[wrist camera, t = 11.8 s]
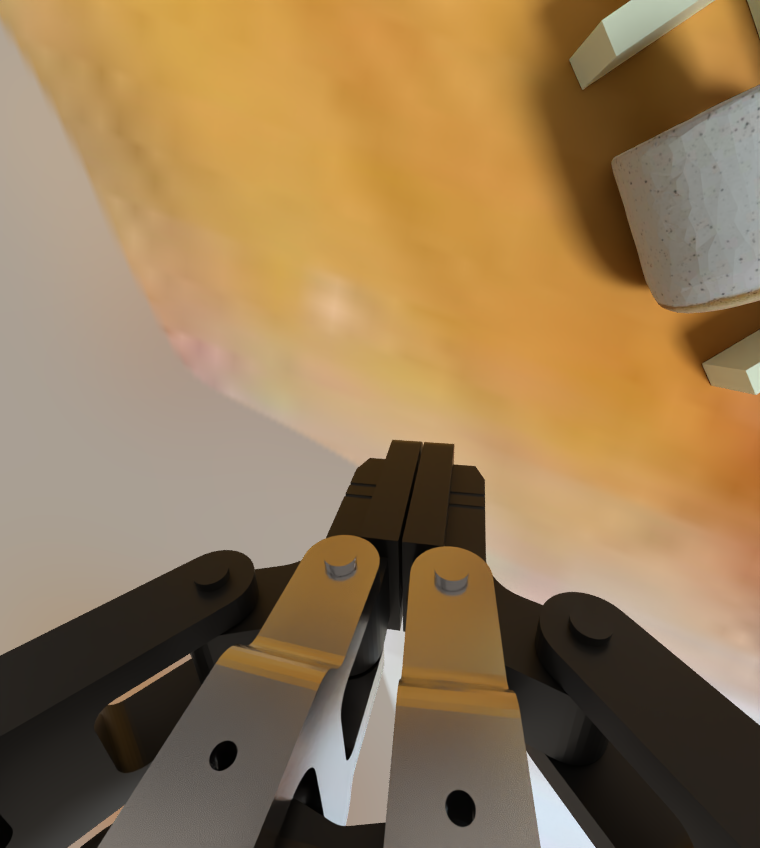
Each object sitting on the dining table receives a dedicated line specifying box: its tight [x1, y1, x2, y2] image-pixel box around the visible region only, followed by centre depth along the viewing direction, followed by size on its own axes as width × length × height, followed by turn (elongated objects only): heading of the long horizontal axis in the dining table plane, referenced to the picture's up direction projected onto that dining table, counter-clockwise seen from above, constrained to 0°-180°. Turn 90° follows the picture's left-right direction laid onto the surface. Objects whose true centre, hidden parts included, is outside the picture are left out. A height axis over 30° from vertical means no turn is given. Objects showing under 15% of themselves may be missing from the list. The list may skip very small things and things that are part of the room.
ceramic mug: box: [611, 85, 760, 313], centre depth 20 cm, size 11×8×8 cm
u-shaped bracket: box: [569, 0, 760, 395], centre depth 22 cm, size 10×19×3 cm, turn 32°
